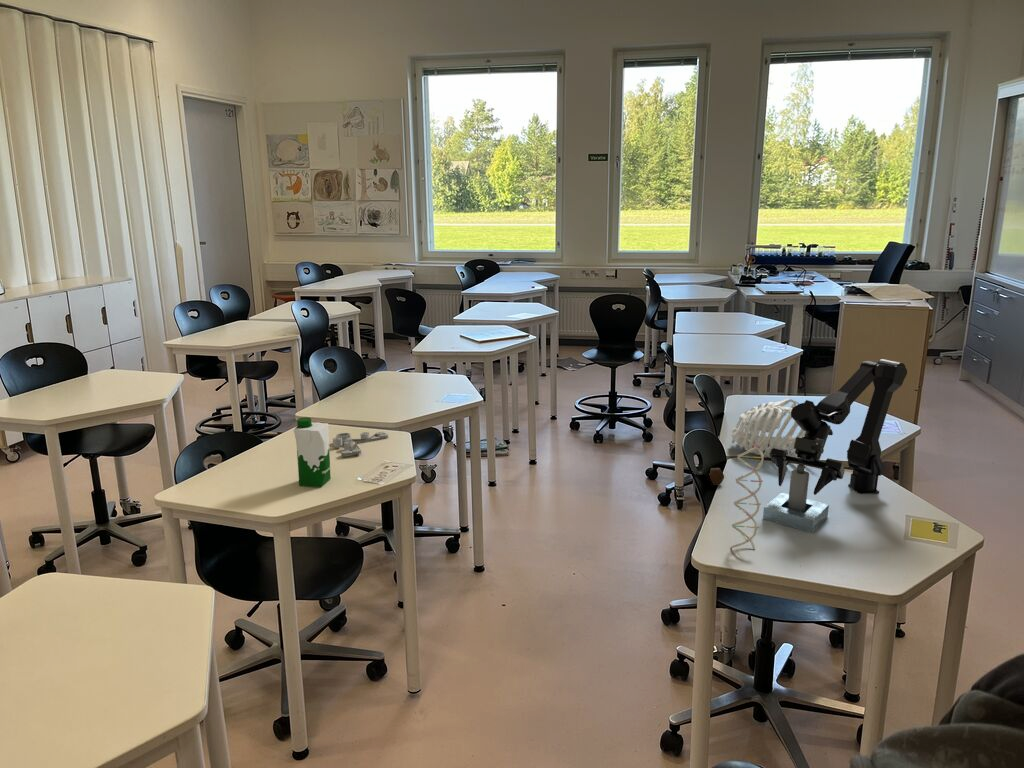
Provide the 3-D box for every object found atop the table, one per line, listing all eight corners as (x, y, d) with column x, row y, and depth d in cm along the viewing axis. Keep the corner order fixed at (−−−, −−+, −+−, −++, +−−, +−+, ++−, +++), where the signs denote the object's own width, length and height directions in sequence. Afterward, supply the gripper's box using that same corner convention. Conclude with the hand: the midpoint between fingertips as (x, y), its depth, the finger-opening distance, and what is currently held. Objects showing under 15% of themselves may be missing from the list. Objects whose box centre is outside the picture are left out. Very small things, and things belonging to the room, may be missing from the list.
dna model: (730, 553, 178) (740, 436, 170) (727, 541, 184) (736, 428, 176) (758, 556, 176) (769, 438, 169) (755, 544, 183) (765, 430, 175)
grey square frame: (779, 504, 207) (781, 492, 206) (827, 516, 199) (828, 504, 198) (762, 519, 197) (763, 507, 196) (812, 532, 189) (813, 520, 188)
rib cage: (813, 444, 258) (731, 433, 266) (820, 396, 253) (737, 386, 261) (818, 471, 234) (728, 459, 243) (827, 418, 229) (734, 407, 237)
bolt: (698, 473, 235) (717, 489, 221) (685, 466, 234) (704, 482, 220) (707, 457, 235) (727, 473, 220) (694, 450, 234) (714, 465, 219)
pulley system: (315, 457, 246) (355, 459, 241) (314, 444, 245) (354, 446, 240) (356, 436, 271) (392, 438, 267) (355, 424, 270) (392, 425, 266)
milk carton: (307, 476, 226) (303, 414, 221) (335, 478, 225) (331, 416, 220) (294, 487, 218) (290, 423, 213) (323, 489, 216) (319, 424, 212)
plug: (799, 514, 200) (805, 462, 197) (807, 521, 196) (813, 468, 192) (783, 514, 200) (789, 462, 196) (791, 521, 196) (796, 468, 192)
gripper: (774, 418, 200) (756, 467, 195) (846, 432, 189) (828, 484, 183) (782, 439, 208) (764, 486, 203) (851, 453, 197) (834, 503, 191)
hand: (796, 489), depth 195 cm, fingers open, 9 cm apart
